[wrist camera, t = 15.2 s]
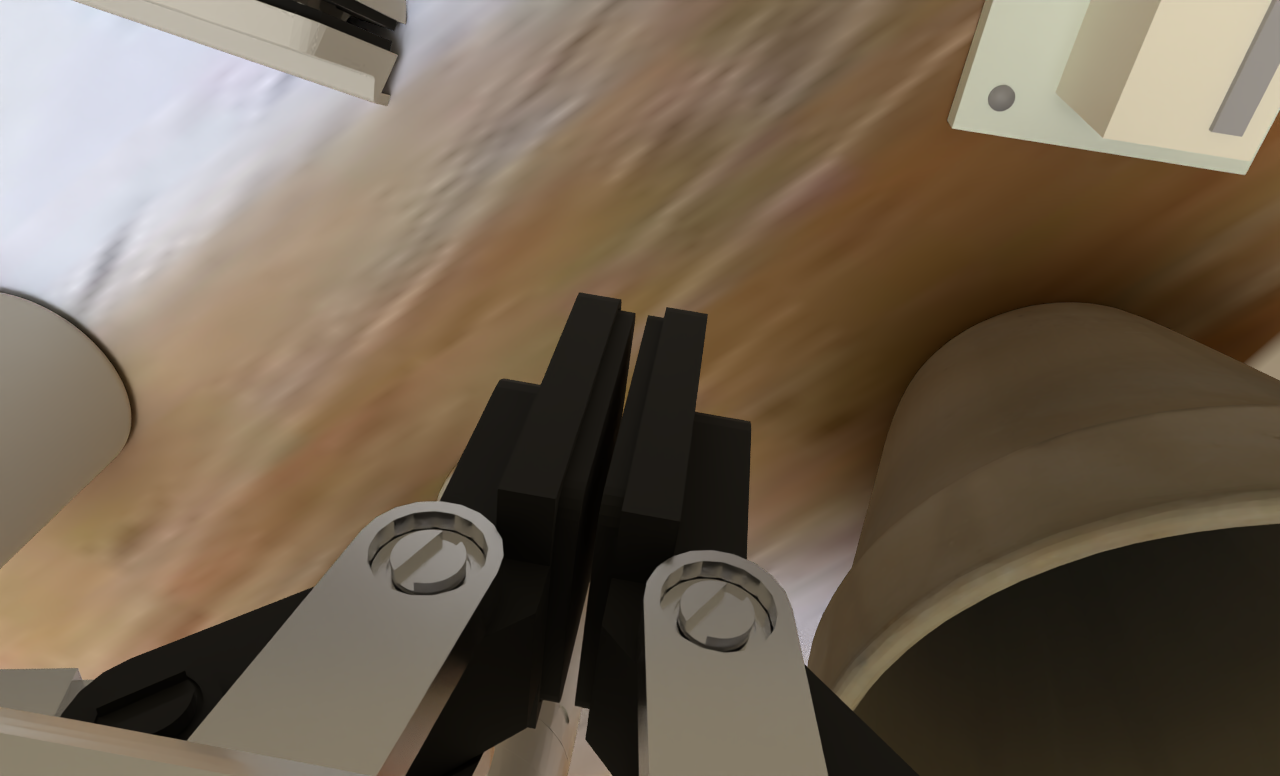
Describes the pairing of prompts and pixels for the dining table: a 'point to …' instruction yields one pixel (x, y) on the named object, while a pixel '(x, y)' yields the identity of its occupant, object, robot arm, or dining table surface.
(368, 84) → the off-white grooved curved block
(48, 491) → the cylinder vase
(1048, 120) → the panel
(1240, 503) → the plant pot
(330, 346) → the dining table surface
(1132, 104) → the cream module
